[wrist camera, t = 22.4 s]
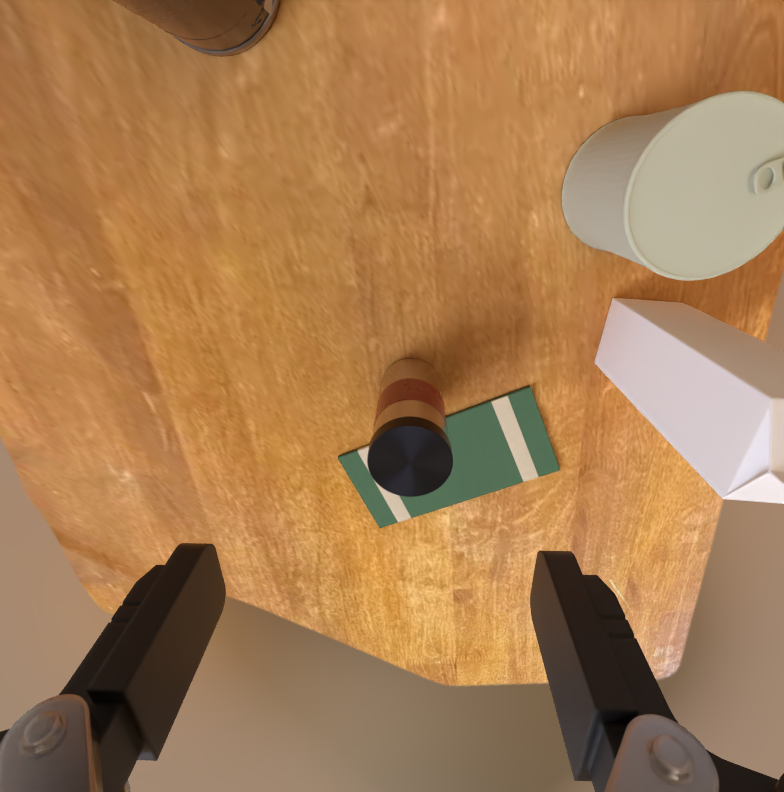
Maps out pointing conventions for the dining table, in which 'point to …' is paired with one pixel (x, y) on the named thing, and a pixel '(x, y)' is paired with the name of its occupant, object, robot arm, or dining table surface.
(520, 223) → the dining table surface
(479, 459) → the towel
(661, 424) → the milk
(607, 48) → the dining table surface
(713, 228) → the can
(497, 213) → the dining table surface
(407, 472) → the jar
